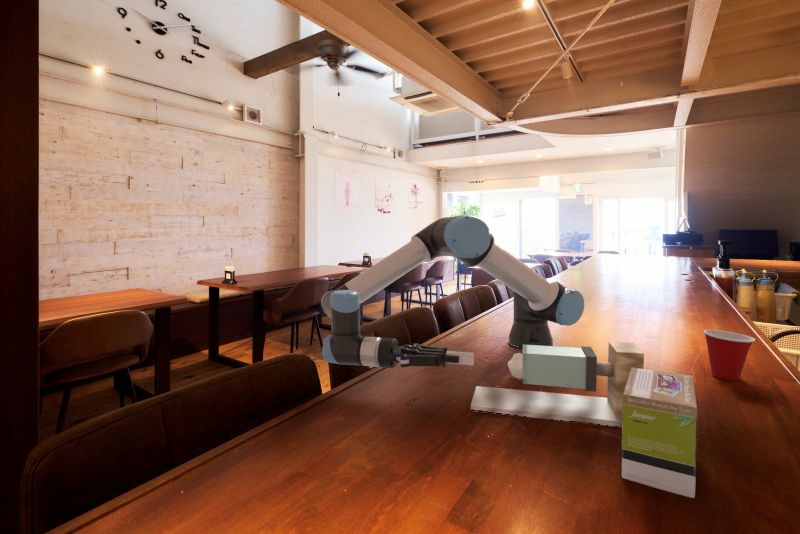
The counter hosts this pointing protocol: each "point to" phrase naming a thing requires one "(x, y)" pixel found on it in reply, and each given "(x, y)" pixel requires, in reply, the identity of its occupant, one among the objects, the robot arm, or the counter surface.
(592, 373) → the dark grey square plate
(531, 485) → the counter surface
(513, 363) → the muffin
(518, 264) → the robot arm
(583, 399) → the pipe stand
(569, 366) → the sleeve
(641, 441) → the tea box
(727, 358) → the plastic cup
